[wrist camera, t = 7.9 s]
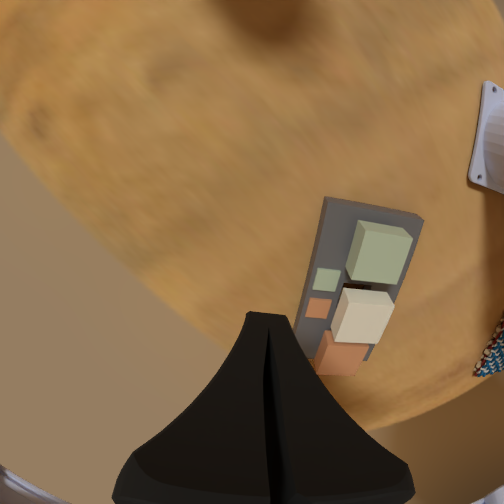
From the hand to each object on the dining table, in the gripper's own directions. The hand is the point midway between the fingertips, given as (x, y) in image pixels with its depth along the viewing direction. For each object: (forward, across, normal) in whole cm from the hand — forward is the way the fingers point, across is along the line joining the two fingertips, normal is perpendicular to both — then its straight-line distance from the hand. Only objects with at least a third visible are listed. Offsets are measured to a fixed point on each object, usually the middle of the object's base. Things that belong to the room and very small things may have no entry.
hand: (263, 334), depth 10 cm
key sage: (+10, -7, 0) cm, 12 cm away
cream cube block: (+9, -7, +4) cm, 12 cm away
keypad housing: (+10, -7, +4) cm, 13 cm away
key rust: (+10, -7, +8) cm, 15 cm away
